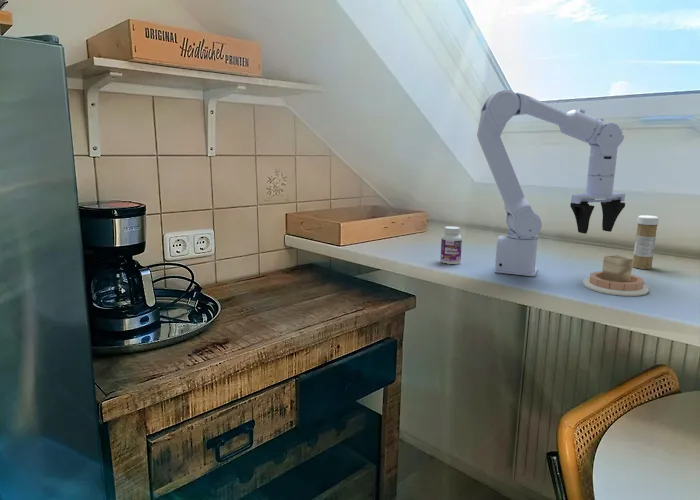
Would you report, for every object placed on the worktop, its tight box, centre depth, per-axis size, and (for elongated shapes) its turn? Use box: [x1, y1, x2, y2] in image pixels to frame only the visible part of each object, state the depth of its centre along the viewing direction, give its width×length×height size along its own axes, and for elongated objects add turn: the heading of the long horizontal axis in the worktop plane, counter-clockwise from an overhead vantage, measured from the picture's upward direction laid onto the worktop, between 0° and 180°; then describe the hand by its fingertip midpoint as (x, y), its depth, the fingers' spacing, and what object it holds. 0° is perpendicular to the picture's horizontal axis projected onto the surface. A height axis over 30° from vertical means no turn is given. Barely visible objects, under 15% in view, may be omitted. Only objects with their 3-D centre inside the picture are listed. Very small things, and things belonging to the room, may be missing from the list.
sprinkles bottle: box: [632, 214, 660, 270], centre depth 125 cm, size 5×5×14 cm
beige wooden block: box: [601, 254, 633, 283], centre depth 109 cm, size 4×4×6 cm
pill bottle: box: [440, 225, 463, 265], centre depth 131 cm, size 5×5×10 cm
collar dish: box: [582, 270, 650, 297], centre depth 109 cm, size 13×13×2 cm
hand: (594, 231), depth 119 cm, fingers open, 7 cm apart
